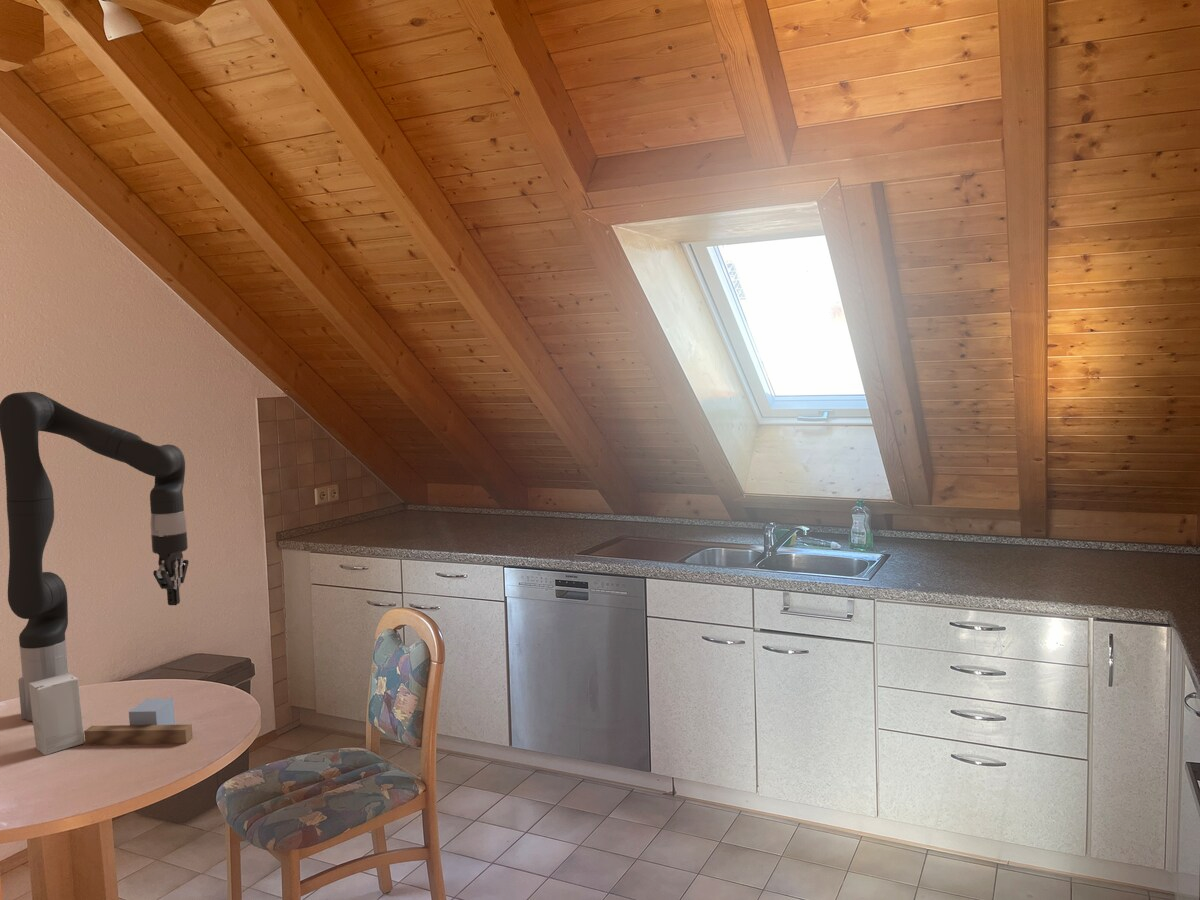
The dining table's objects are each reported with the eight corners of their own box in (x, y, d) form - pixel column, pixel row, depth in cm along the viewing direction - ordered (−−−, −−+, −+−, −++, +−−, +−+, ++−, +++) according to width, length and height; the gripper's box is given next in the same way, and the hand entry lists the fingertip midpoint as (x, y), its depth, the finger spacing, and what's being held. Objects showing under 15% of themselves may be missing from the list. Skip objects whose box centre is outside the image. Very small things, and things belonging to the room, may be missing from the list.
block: (130, 738, 210) (128, 711, 209) (149, 724, 218) (147, 698, 217) (157, 738, 210) (155, 711, 209) (175, 724, 217) (173, 698, 217)
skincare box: (75, 737, 211) (70, 671, 209) (85, 744, 207) (80, 677, 205) (33, 749, 205) (27, 681, 203) (42, 756, 201) (36, 687, 199)
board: (85, 744, 206) (84, 731, 206) (93, 739, 209) (91, 725, 209) (186, 743, 206) (185, 729, 205) (192, 737, 209) (191, 724, 208)
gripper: (166, 526, 230) (171, 597, 231) (138, 536, 217) (143, 612, 218) (197, 525, 229) (202, 597, 231) (171, 536, 216) (176, 611, 218)
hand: (173, 604), depth 225 cm, fingers closed
